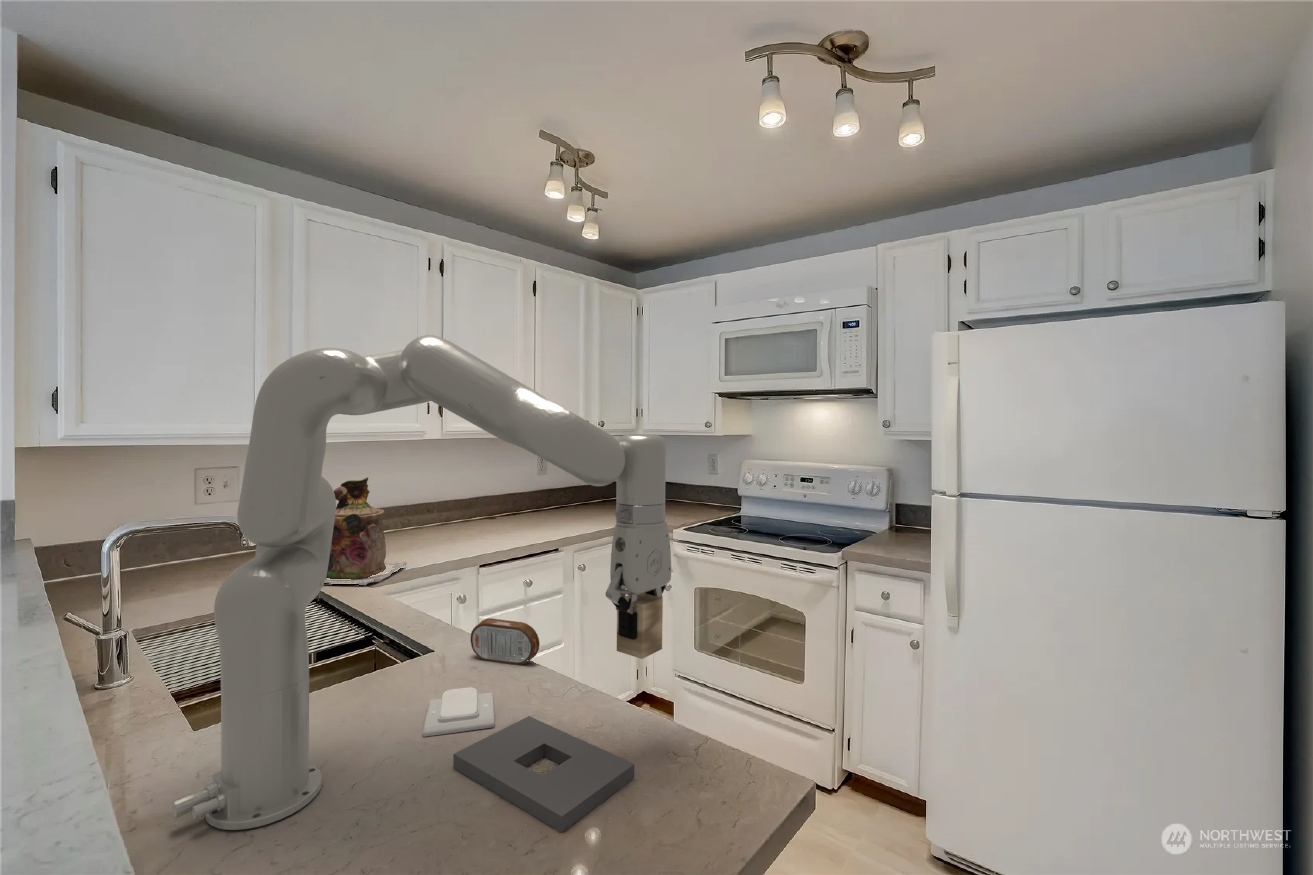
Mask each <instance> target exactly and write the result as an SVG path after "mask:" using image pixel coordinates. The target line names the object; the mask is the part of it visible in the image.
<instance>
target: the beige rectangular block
mask: <svg viewBox="0 0 1313 875" xmlns="http://www.w3.org/2000/svg"><path fill="white" fill-rule="evenodd" d="M629 596H630V595H627V594H626V595H625V599H626V600H627V601H629ZM663 604H664V597H663V598H662V597H657V596H653V595H649V594H644V593H642V594H639V595H637V600H636V605H635V610H634V612H636V613H637V638H636V639H634V640H632V639H628V638H625V637H621V636H619V634H618V626H619V611H618V610H616V652H617V653H618V652H619V653H623V654H625V655H628V656H631V657H635V658H638V659H642V660H643V659H645V658H648V657H649V656H651V655H653V654H655V653H657V652H659V651H661V650H663V617H664V616H663V612H664V610H663V608H664V606H663Z"/></svg>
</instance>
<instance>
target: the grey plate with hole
mask: <svg viewBox="0 0 1313 875" xmlns="http://www.w3.org/2000/svg"><path fill="white" fill-rule="evenodd" d="M542 758H546V759H548V760H550V761H552V762H554V763H556V764H558V765H557V766H555V767H553V768H552V769H550V770H548V771H547V772H546V773H544V774H542V775H541V774H540V773H536V772H535V771H534V770H532V769H530V768H528V767H529V766H531V765H533V764H534V763H536V762H537V761H539V760H541V759H542ZM452 760H453V764H452V765H453V766H452V767H453V768H454V769H455V770H456V771H458V772H459V773H462V774H463V775H465V776H466V777H468V778H470V779H471V780H473V781H475V782H477V784H480V785H481V786H483V787H485V788H487V789H488V790H490V791H492V792H493V793H494V794H497V795H498V796H499V797H501V798H503V799H505V800H506V801H508V802H510V804H513V805H514V806H516V807H517V808H520V809H521V810H523V811H524V812H526V813H528V814H529V815H531V816H532V817H535V818H536V819H538V820H540V821H541V822H543V823H544V824H546V825H548V826H550V827H551V828H552V829H554V830H556V831H558V832H559V833H561V834H562V833H563V832H565V831H567V829H569V828H570V827H572V826H573V825H574V824H575V823H577V822H578V821H579V820H581V819H583V817H584V816H586V815H587V814H588V813H590V812H591V811H593V810H594V809H596V808H597V807H598V806H599V805H601V804H602V803H604V802H605V801H606V800H607V799H608V798H610V797H611V796H613V795H614V794H615V793H617V792H619V790H620V789H622V788H623V787H624V786H626V785H628V783H630V782H632V781H633V780H634V779H635V767H636V766H635V763H633V762H631V761H629V760H628V759H625V758H622V757H621V756H618V755H616V754H614V753H612V752H609V751H607V750H605V749H603V748H601V747H598V746H596V745H595V744H592V743H590V742H587V741H585V740H584V739H580V738H578V737H576V736H574V735H573V734H570V733H568V732H565V731H563V730H561V729H559V728H556V727H554V726H552V725H550V724H548V723H546V722H543V721H541V720H540V719H536V717H535V718H534V717H532V716H530V715H528V716H526V717H524V718H522V719H520V720H517V721H516V722H514V723H512V724H510V725H508V726H506V727H505V728H502V729H500V730H498V731H496V732H494V733H492V734H490V735H488V736H486V737H484V738H482V739H480V740H478V741H476V742H474V743H472V744H470V745H468V746H467V747H464V748H462V749H460V750H458V751H456V752H454V753H453V758H452Z"/></svg>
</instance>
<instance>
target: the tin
mask: <svg viewBox="0 0 1313 875" xmlns="http://www.w3.org/2000/svg"><path fill="white" fill-rule="evenodd" d="M470 645H471V649H472V650H473V653H475V655H476V656H477V657H478V658H480V659H482V660H484V661H487V660H489V662H494V661H495V663H501V664H508V665H516V666H521V665H522V666H523V665H525V664H527V663H528V662H530V661H531V660H532V659H534V658H535V657H536V655H537V654H538V652H539V649H540V645H541V644H540V638H539V635H538V633H537V631H536V630H535V629H534V628H533V627H532V626H531V625H530V624H528V623H527V622H522V621H514V620H507V619H506V620H505V619H499V618H493V617H492V618H485V619H483V620H481V621H480V622H479V623H478V624H476V625H475V626H474V627H473V629H472V630H471V632H470ZM514 655H515V656H514ZM521 658H524V659H521ZM527 660H529V661H527Z"/></svg>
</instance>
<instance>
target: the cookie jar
mask: <svg viewBox="0 0 1313 875" xmlns="http://www.w3.org/2000/svg"><path fill="white" fill-rule="evenodd" d="M368 481H369V477H365V478H363V479H360V480H356V479H355V480H353V479H351V480H346V481H344V482H342V483H341V484H340V486H338V487H337V488H335V489H333V491H334V494H335V499H336V501H338V503H336V514H335V521H334V528H333V535H332V542H331V549H330V556H329V564H328V570H327V575H326V578H330V579H351V580H327V579H325V582H324V583H356V584H360V585H364V586H367V584H370V583H377V582H379V583H380V582H381V581H383V580H385V579H387V578H388V577H390V576H392V575H393V574H392V573H393V572H394V571H395V570H397V569H398V568H400V567H402V566H404V565H407V564H408V562H407V561H403V562H393V563H394V564H390V563H388V564H389V565H395V566H393V567H392V568H395V569H393V570H391V571H390V572H389V573H388V574H385V575H383V576H378V577H370V576H372V575H376V574H378V573H380V572H383V571H384V570H385V569H386V566H385V564H386V563H385V560H386V557H387V550H386V548H387V545H386V540H385V539H386V538H385V533H384V527H383V526H384V523H383V518H384V517H385V509H381V508H380V509H379V508H375V507H373V506H371V505H370V504H369V503H368V502H367V501H368V500H367V499H368V496H369V494H370V490H369V489H368V487H369V485H368ZM391 574H392V575H391ZM368 577H370V578H368Z"/></svg>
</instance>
